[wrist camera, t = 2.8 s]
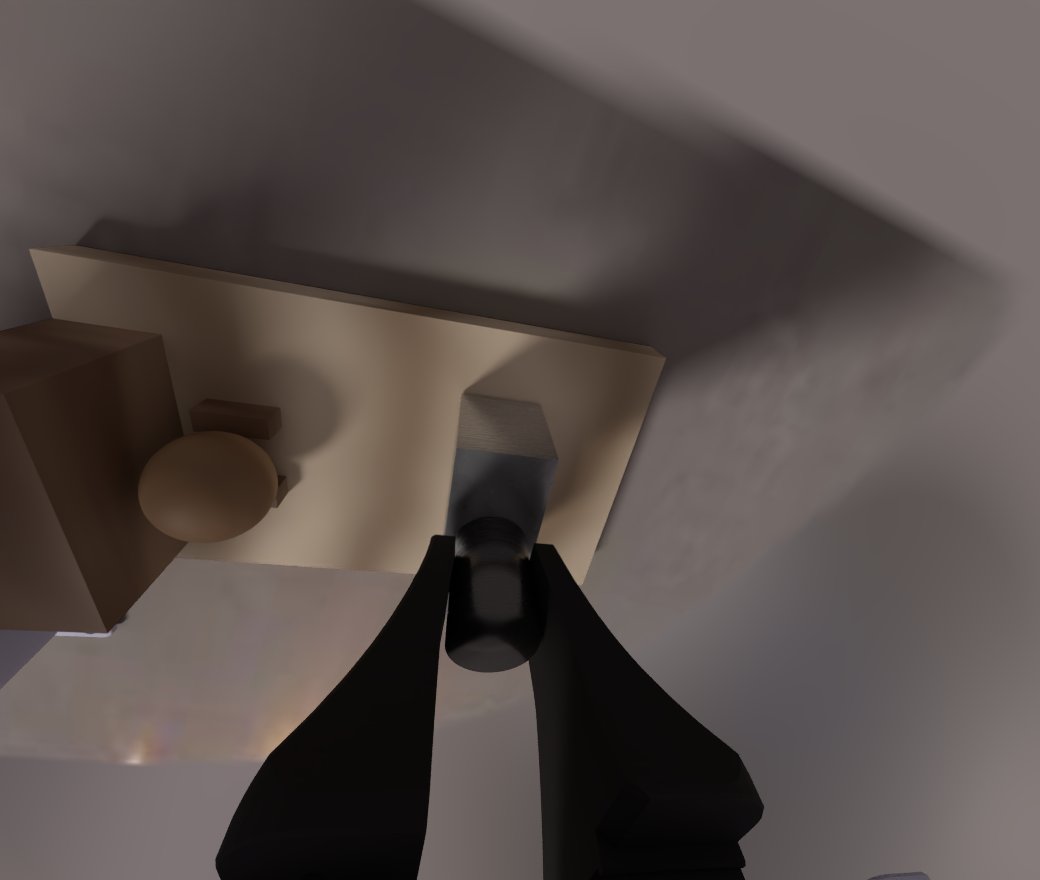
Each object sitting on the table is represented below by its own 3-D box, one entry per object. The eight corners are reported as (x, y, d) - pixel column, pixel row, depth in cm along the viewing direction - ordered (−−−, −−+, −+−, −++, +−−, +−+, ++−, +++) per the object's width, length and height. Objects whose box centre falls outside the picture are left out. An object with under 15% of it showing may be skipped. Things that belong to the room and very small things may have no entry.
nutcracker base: (157, 530, 19) (16, 669, 13) (73, 244, 13) (-239, 268, 7) (576, 563, 22) (609, 684, 16) (651, 346, 16) (742, 416, 11)
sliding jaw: (442, 537, 18) (421, 719, 12) (461, 393, 15) (448, 532, 8) (508, 542, 19) (524, 720, 12) (540, 404, 15) (586, 544, 9)
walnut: (195, 492, 15) (122, 563, 12) (176, 405, 14) (86, 462, 11) (297, 501, 16) (253, 572, 13) (291, 420, 14) (238, 477, 11)
